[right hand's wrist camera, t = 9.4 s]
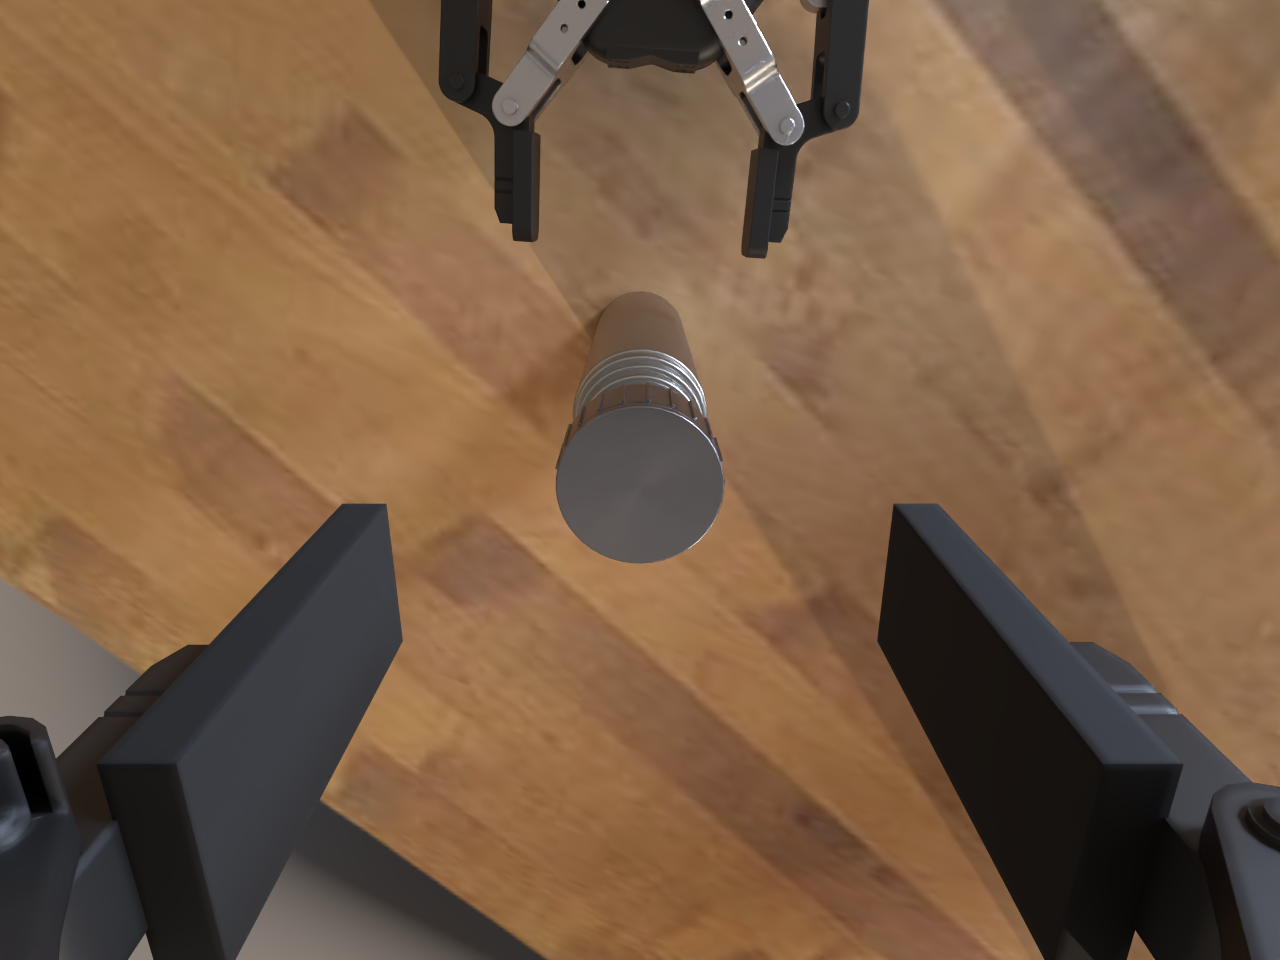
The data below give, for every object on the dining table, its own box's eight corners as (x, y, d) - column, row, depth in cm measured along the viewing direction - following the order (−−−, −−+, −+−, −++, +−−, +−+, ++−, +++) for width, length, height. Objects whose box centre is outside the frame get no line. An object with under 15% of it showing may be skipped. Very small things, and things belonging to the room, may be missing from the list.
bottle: (670, 387, 37) (699, 576, 19) (587, 366, 37) (537, 539, 19) (693, 303, 36) (748, 421, 18) (607, 281, 36) (573, 378, 18)
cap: (694, 543, 21) (699, 582, 19) (547, 509, 21) (537, 545, 18) (736, 403, 20) (748, 428, 17) (581, 364, 19) (573, 385, 17)
